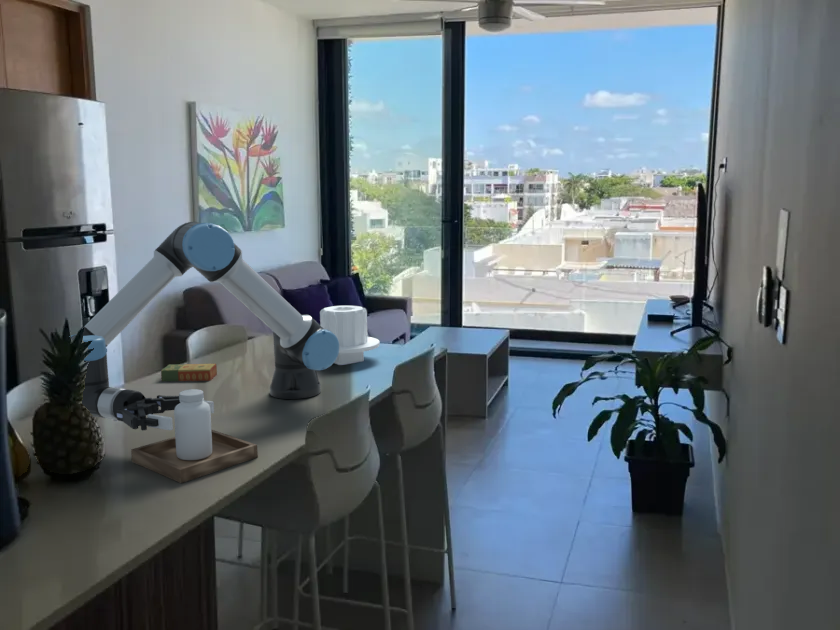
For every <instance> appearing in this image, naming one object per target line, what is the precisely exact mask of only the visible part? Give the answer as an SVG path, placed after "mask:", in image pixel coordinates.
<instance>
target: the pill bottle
mask: <svg viewBox="0 0 840 630" xmlns="http://www.w3.org/2000/svg"><path fill="white" fill-rule="evenodd" d="M178 396H179V400H180V402H181V403H179V404H178V405H177V406H176V407H175V409H174V410H173V416H174V434H175V435H174V437H175V439H176V454H177V457H178V458H179V459H182V460H200V459H204V458H206V457H208V456H210V455H211V454H212V433H211V429H212V417H211V415H212V413H211V411H210V406H209V404H208V403H206V402H204V401H203V400H205V398H204V397H205V396H204V391H203V390H201V389H196V388H192V389H184V390H182V391H180V392H179V393H178Z"/></svg>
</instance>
